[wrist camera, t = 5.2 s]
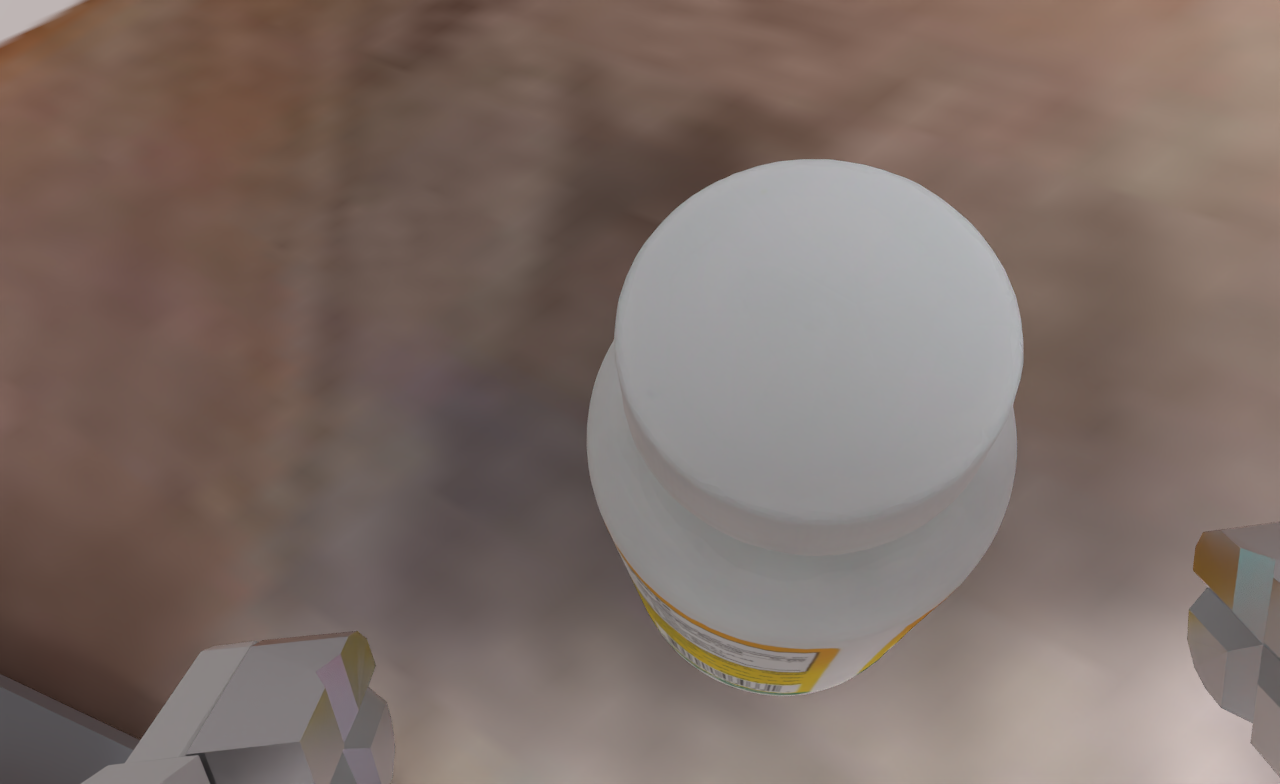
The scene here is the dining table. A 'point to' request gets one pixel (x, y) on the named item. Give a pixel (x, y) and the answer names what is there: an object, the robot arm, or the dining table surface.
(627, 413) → the supplement bottle
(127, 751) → the collar holder
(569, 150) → the dining table surface
